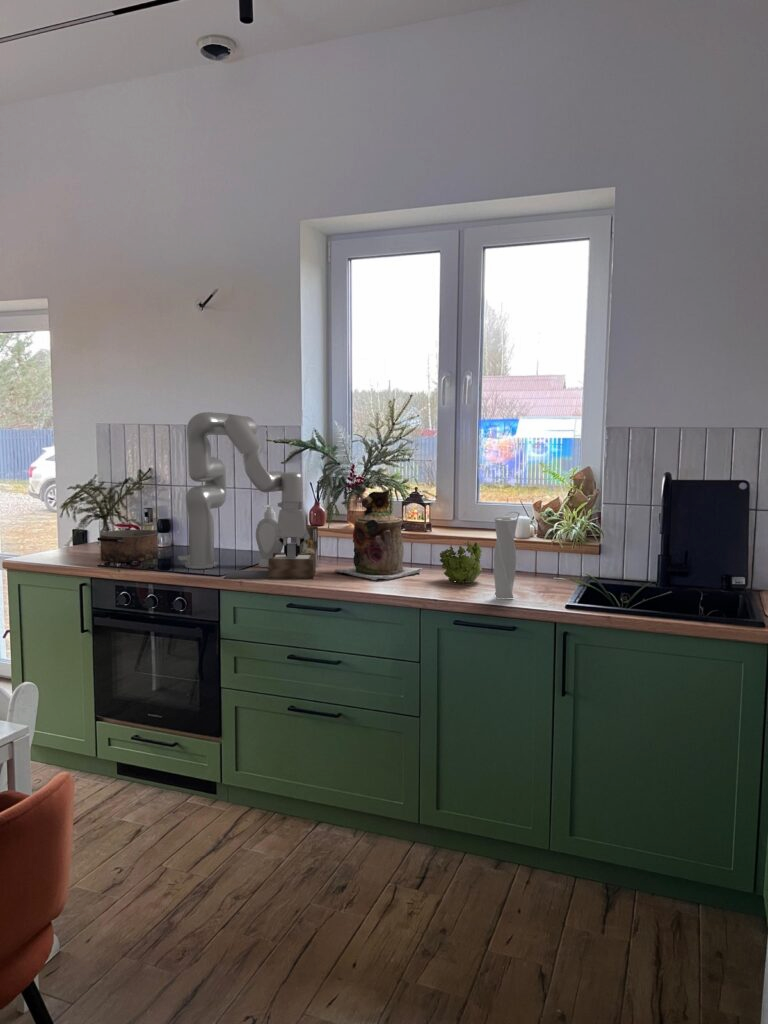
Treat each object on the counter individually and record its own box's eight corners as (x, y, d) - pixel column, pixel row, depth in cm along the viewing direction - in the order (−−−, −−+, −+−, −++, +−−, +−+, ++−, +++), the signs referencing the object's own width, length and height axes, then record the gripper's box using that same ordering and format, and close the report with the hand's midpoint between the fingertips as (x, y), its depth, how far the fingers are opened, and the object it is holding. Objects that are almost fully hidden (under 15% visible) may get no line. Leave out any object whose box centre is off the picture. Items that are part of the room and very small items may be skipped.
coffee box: (306, 565, 303) (306, 525, 302) (318, 566, 300) (318, 526, 298) (290, 568, 296) (290, 527, 294) (302, 569, 292) (302, 528, 291)
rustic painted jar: (377, 565, 304) (378, 486, 301) (424, 574, 287) (425, 489, 284) (332, 573, 286) (332, 488, 283) (379, 582, 269) (380, 492, 266)
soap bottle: (249, 567, 296) (248, 505, 294) (259, 564, 303) (259, 503, 301) (278, 569, 291) (278, 506, 289) (288, 566, 299) (288, 505, 296)
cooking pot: (125, 566, 296) (124, 539, 295) (81, 562, 305) (80, 535, 303) (175, 555, 323) (174, 530, 322) (133, 551, 332) (133, 527, 331)
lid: (272, 562, 275) (272, 545, 274) (275, 558, 286) (275, 541, 285) (308, 563, 275) (308, 546, 274) (310, 558, 286) (310, 541, 285)
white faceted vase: (514, 595, 251) (516, 510, 248) (519, 600, 243) (521, 513, 241) (490, 594, 251) (492, 510, 248) (494, 599, 243) (496, 512, 240)
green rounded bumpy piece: (493, 574, 261) (459, 545, 258) (462, 601, 268) (428, 573, 265) (494, 550, 277) (462, 522, 274) (464, 576, 284) (433, 549, 281)
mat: (223, 578, 273) (223, 577, 273) (231, 571, 288) (231, 570, 288) (265, 578, 273) (265, 577, 273) (270, 571, 288) (270, 570, 288)
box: (268, 578, 273) (268, 559, 272) (273, 571, 288) (273, 552, 287) (313, 579, 274) (313, 559, 273) (315, 571, 288) (315, 553, 288)
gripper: (268, 507, 274) (268, 557, 276) (313, 507, 275) (313, 557, 277) (270, 505, 282) (270, 554, 284) (314, 505, 282) (314, 554, 284)
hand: (291, 555), depth 280 cm, fingers closed on lid, 3 cm apart
